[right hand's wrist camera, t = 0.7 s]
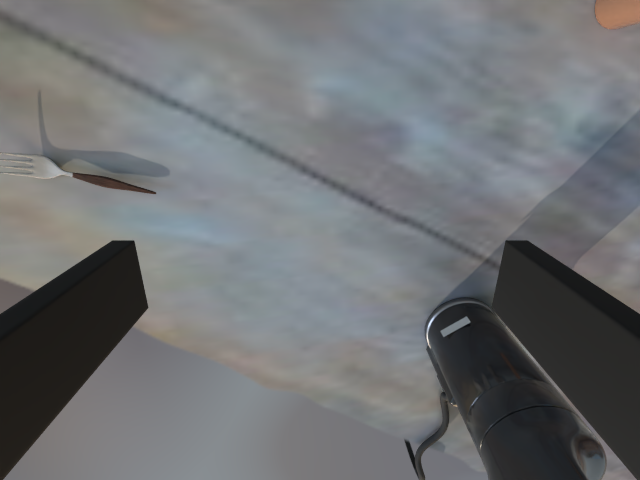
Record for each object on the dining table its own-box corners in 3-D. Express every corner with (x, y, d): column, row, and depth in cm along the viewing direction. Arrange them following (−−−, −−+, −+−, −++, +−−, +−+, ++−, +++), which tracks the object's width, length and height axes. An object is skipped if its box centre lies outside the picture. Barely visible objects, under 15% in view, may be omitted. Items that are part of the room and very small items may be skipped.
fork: (157, 203, 40) (149, 207, 38) (13, 171, 39) (-3, 174, 37) (158, 181, 39) (150, 185, 37) (11, 148, 38) (-5, 150, 36)
